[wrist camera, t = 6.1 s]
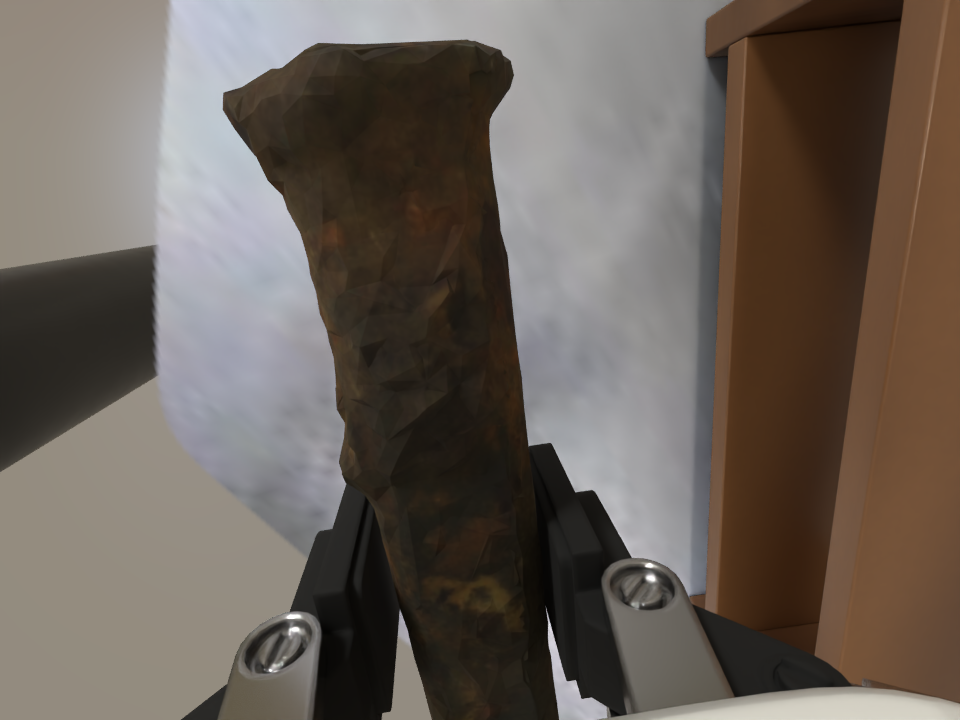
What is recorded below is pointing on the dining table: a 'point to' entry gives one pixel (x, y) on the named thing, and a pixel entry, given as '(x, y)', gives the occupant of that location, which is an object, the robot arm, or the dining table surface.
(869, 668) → the shelf stand
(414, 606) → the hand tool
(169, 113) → the dining table surface
